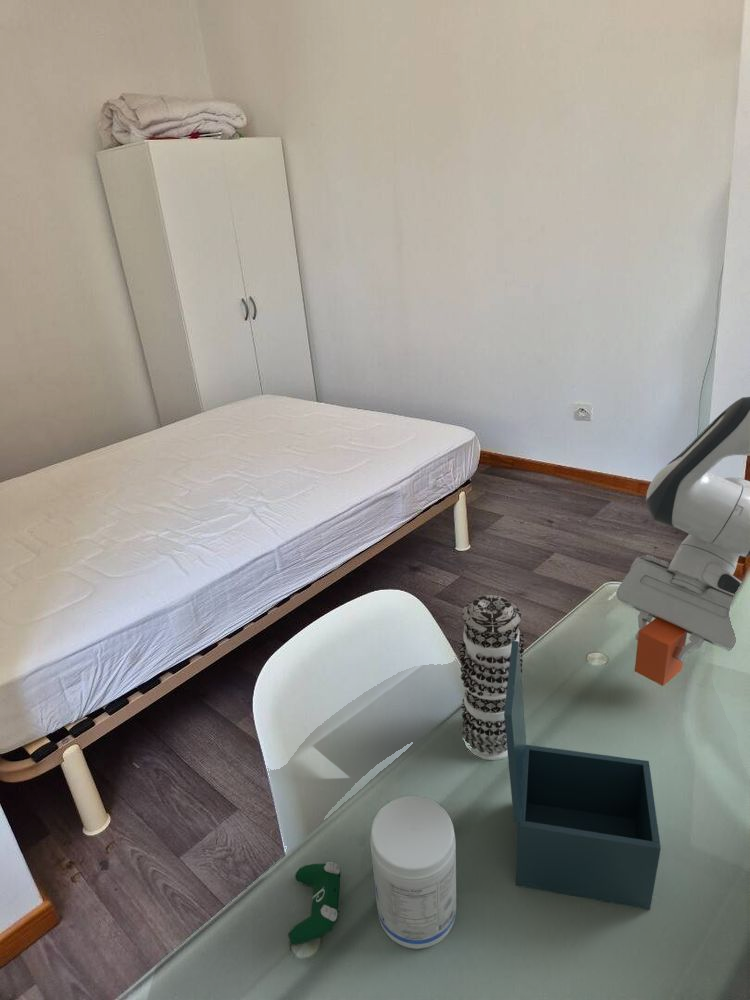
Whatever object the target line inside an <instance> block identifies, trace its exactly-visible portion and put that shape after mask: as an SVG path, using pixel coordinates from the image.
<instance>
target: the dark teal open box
mask: <svg viewBox="0 0 750 1000" xmlns="http://www.w3.org/2000/svg"><path fill="white" fill-rule="evenodd" d="M516 825H517V829H516V852H515V853H516V854H515V855H516V856H515V877H514V878H515V882H514V885H515V886H517V887H523V888H528V889H534V890H539V891H543V892H550V893H555V894H560V895H566V896H572V897H577V898H583V899H587V900H593V901H600V902H605V903H608V904H609V903H610V904H616V905H620V906H625V907H632V908H637V909H643V910H648V911H650V910H651V907H652V902H653V901H652V900H653V895H654V889H655V883H656V879H657V873H658V866H659V861H660V857H661V850H662V847H661V839H660V832H659V825H658V818H657V810H656V803H655V796H654V788H653V781H652V774H651V766H650V761H649V760H643V759H636V758H629V757H623V756H622V757H621V756H616V755H615V756H614V755H606V754H601V753H600V754H599V753H592V752H584V751H578V750H577V751H576V750H569V749H562V748H555V747H547V746H538V745H531V744H526V754H525V769H524V784H523V800H522V815H521V823H518V822H517V823H516Z"/></svg>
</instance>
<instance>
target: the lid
mask: <svg viewBox="0 0 750 1000" xmlns="http://www.w3.org/2000/svg"><path fill="white" fill-rule="evenodd" d="M521 668H522V667H521V666H520V653H519V642H518V641H512V646H511V655H510V664H509V673H508V683H507V692H506V701H505V710H504V719H505V730H506V741H507V752H508V756H507V761H508V771H509V772H508V773H509V783H510V793H511V804H512V813H513V814H512V815H513V816H512V817H513V822H514V823H517V824H518V823H521V815H522V800H523V784H524V769H525V754H526V745H527V733H526V719H525V718H526V717H525V707H524V694H523V692H524V691H523V682H522V679H523V678H522V673H521Z"/></svg>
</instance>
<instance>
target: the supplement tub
mask: <svg viewBox="0 0 750 1000" xmlns="http://www.w3.org/2000/svg"><path fill="white" fill-rule="evenodd" d="M369 841H370V853H371V861H372V862H371V863H372V871H373V880H374V890H375V901H376V910H377V917H378V920H379V923H380V925H381V927H382V929H383V931H384V932H385V933H386V935H387V936H388V937H389V938H390V939H391V940H392V941H393V942H395V943H397V944H398V945H400V946H402V947H405V948H409V949H414V950H415V949H417V950H418V949H426V948H429V947H433V946H435V945H437V944H438V943H440V942H441V941H442V940H444V939H445V938H446V937H447V936H448V934H449V933H450V931H451V930H452V928H453V926H454V925H455V920H456V917H457V861H456V860H457V856H456V855H457V854H456V852H457V849H456V848H457V847H456V845H457V844H456V834H455V829H454V824H453V820H452V818H451V817H450V815H449V814H448V811H446V810H445V809H444V808H443V806H442V805H440V804H439V803H437V802H436V801H434V800H432V799H430V798H427V797H423V796H417V795H408V796H407V795H406V796H401V797H398V798H394V799H393V800H391V801H390V802H387V803H386V804H385V805H383V806H382V807H381V808H380V809H379V810H378V812H377V813H376V815H375V816H374V818H373V820H372V824H371V827H370V840H369Z"/></svg>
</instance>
